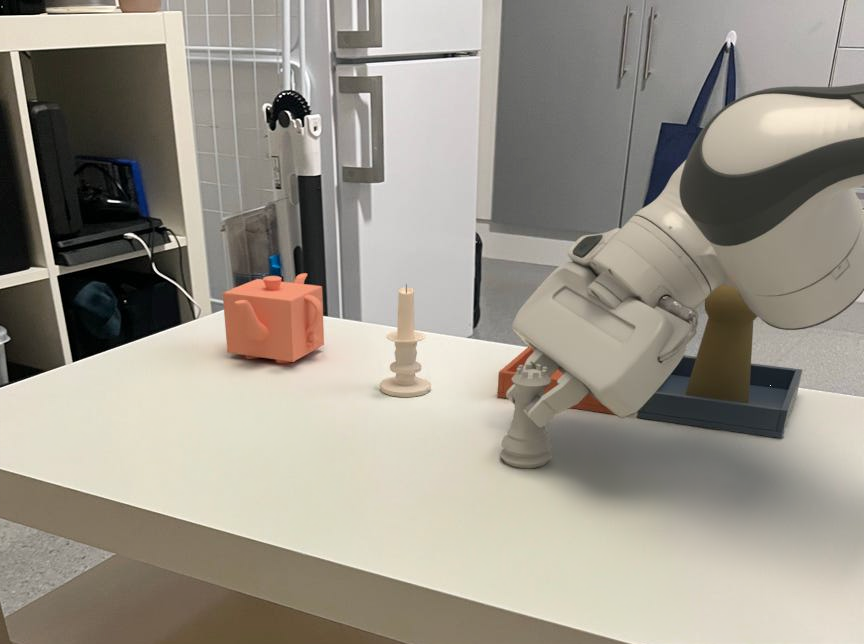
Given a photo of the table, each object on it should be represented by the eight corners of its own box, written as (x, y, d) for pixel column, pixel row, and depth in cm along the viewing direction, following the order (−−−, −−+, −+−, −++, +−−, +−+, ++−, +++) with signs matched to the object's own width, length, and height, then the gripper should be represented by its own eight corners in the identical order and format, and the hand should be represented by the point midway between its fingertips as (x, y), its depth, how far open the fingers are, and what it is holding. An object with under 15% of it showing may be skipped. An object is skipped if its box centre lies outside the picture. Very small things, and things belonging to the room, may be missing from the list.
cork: (739, 412, 96) (762, 293, 90) (676, 401, 98) (694, 284, 92) (756, 394, 100) (779, 279, 94) (695, 384, 103) (714, 271, 97)
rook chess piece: (527, 474, 85) (534, 380, 81) (488, 458, 88) (493, 367, 83) (561, 460, 87) (570, 369, 83) (523, 445, 90) (530, 356, 86)
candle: (425, 398, 101) (427, 291, 95) (374, 395, 102) (374, 288, 96) (435, 382, 105) (437, 279, 100) (386, 379, 106) (386, 276, 101)
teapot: (194, 365, 110) (186, 286, 106) (265, 331, 122) (260, 258, 117) (289, 380, 106) (285, 298, 101) (353, 343, 117) (352, 268, 113)
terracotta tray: (657, 376, 107) (660, 352, 105) (628, 416, 97) (631, 389, 95) (536, 361, 111) (538, 337, 110) (497, 397, 101) (498, 371, 100)
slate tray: (796, 394, 102) (802, 369, 100) (781, 438, 92) (787, 410, 90) (664, 377, 106) (668, 353, 105) (636, 417, 96) (640, 390, 95)
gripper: (731, 345, 75) (595, 481, 78) (612, 282, 92) (503, 396, 95) (686, 287, 72) (546, 431, 75) (571, 233, 88) (460, 352, 92)
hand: (521, 411), depth 85 cm, fingers closed on rook chess piece, 3 cm apart
